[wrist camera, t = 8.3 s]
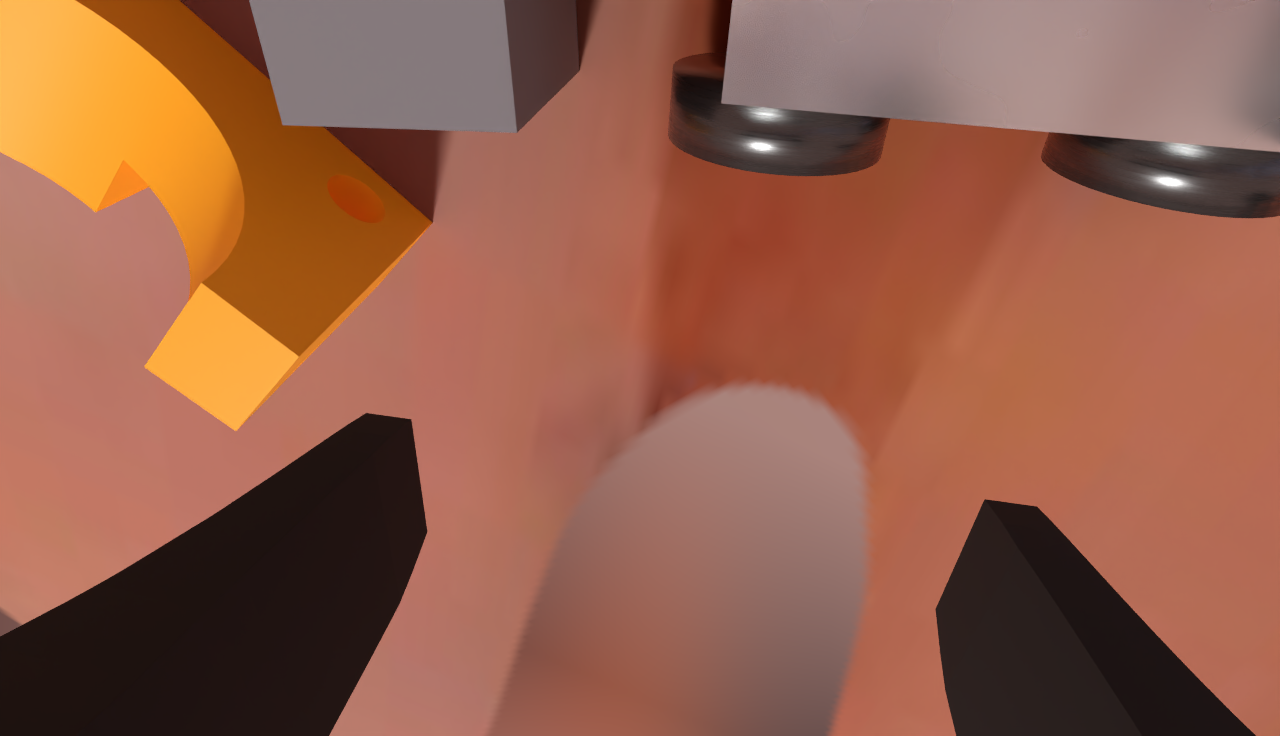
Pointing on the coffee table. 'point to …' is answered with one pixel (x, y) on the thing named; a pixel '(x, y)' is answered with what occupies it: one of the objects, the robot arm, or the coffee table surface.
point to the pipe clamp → (203, 183)
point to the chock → (417, 61)
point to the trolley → (1003, 90)
